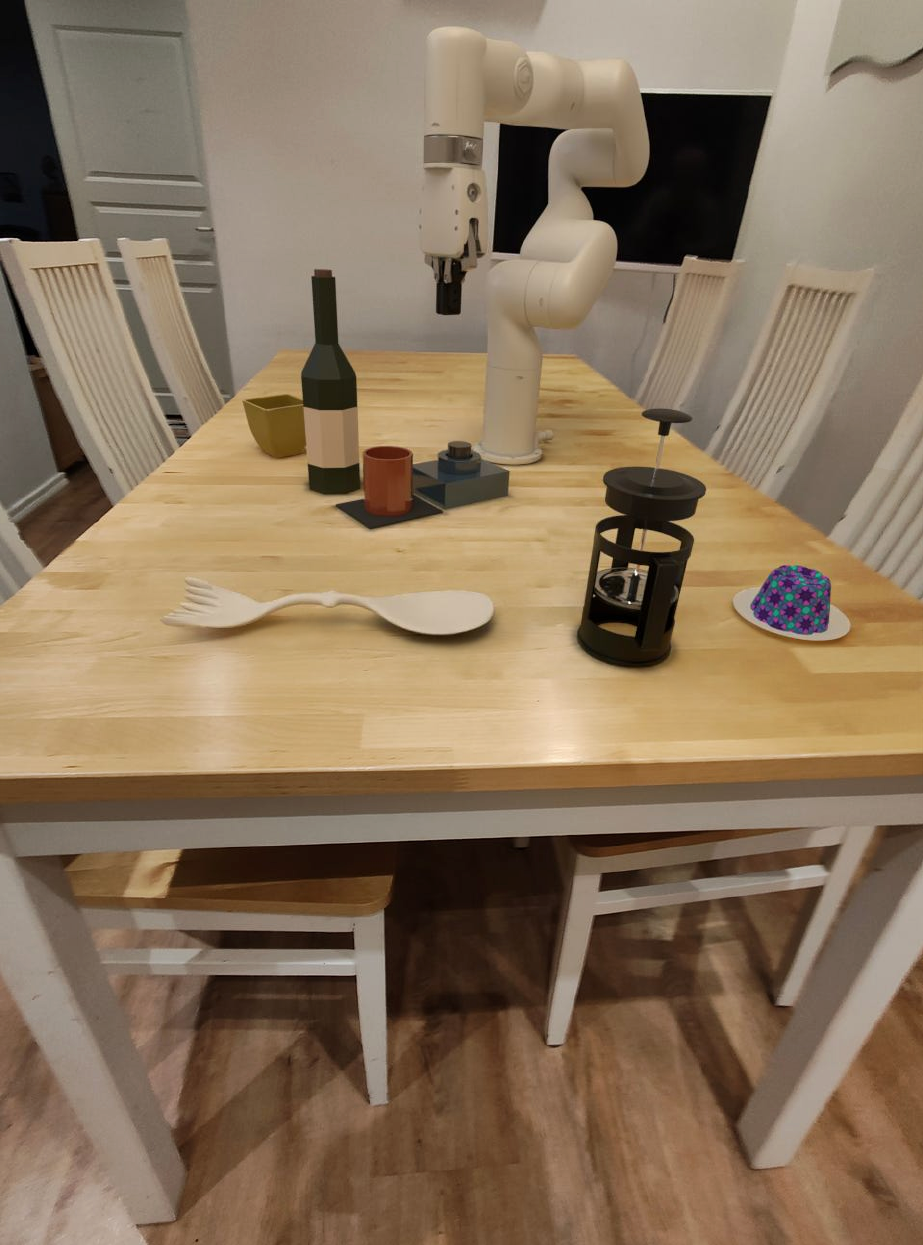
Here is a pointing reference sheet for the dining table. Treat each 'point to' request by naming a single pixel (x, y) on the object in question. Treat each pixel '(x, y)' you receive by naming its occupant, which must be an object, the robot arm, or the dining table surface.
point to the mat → (375, 521)
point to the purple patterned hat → (794, 605)
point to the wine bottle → (329, 400)
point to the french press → (639, 559)
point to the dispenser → (459, 480)
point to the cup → (388, 480)
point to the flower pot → (277, 424)
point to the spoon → (404, 610)
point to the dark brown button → (459, 450)
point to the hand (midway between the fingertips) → (448, 314)
